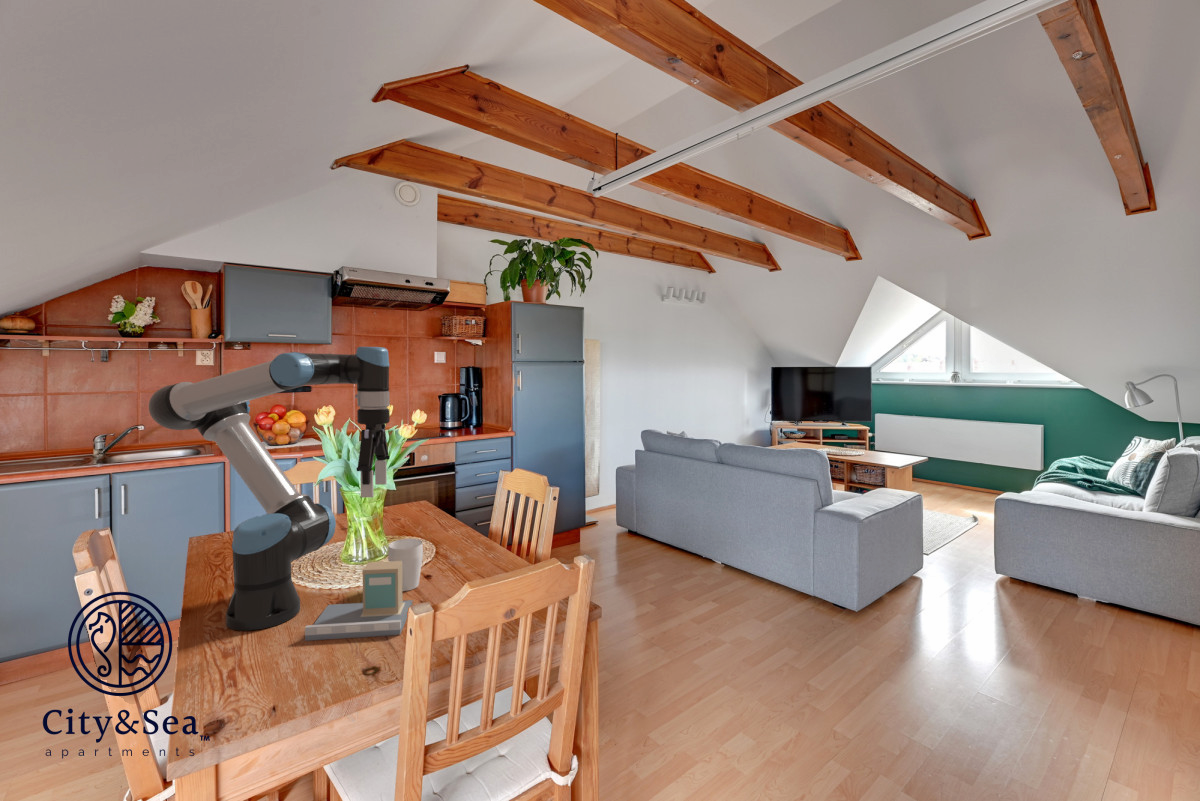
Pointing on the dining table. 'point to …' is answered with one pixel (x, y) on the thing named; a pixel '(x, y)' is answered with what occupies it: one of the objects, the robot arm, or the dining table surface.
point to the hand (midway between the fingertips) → (374, 490)
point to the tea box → (382, 587)
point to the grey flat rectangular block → (355, 622)
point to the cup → (407, 560)
